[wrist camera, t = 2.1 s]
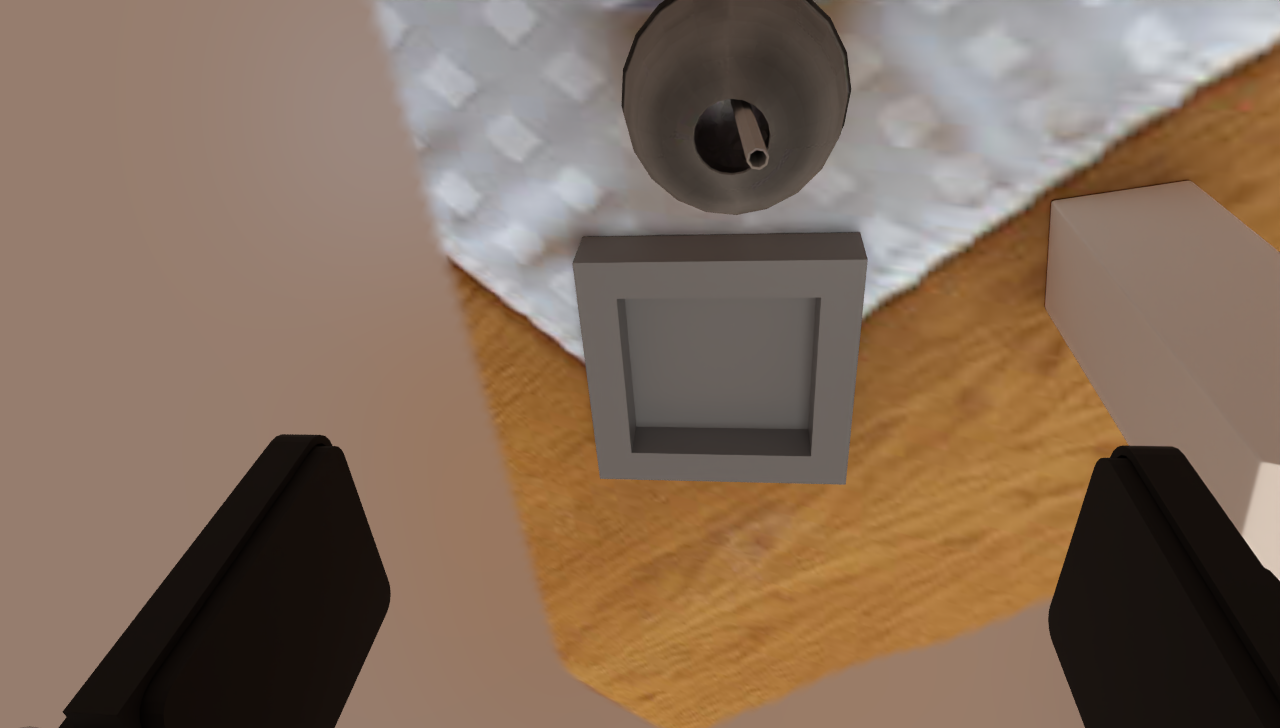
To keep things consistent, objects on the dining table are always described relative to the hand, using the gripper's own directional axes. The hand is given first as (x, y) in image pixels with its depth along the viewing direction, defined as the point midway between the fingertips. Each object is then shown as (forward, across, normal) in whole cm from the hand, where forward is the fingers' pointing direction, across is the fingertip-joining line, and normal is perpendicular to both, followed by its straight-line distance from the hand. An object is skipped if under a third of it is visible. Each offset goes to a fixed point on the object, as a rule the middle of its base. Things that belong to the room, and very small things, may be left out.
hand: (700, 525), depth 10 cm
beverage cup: (+30, 0, 0) cm, 30 cm away
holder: (+30, +1, +17) cm, 35 cm away
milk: (+30, -18, +11) cm, 37 cm away
